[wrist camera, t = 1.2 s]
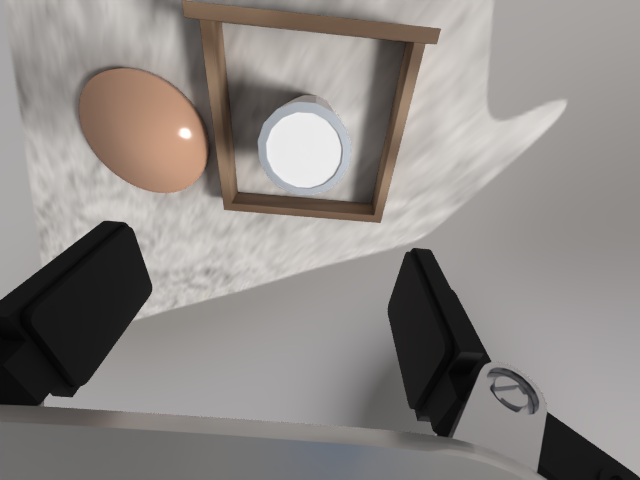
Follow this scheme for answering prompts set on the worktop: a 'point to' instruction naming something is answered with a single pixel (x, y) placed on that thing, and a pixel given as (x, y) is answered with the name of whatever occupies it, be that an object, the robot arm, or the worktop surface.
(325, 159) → the white cup
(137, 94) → the tan flat disc
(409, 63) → the frame
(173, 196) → the worktop surface
